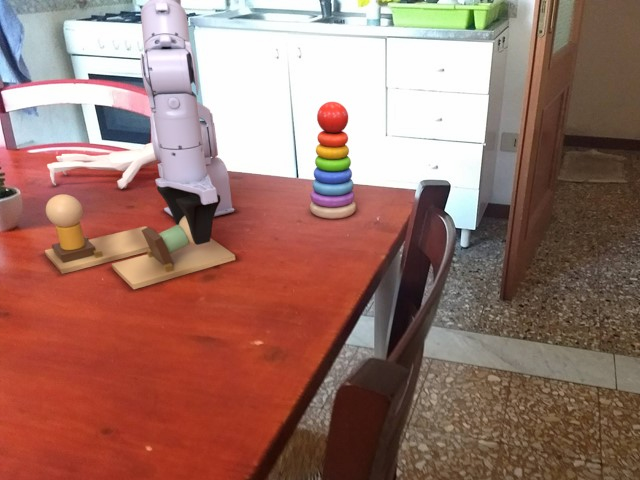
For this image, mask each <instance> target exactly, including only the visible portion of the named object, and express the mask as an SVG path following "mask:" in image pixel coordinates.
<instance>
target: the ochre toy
mask: <svg viewBox="0 0 640 480" xmlns="http://www.w3.org/2000/svg"><path fill="white" fill-rule="evenodd" d="M45 205H46V206H45V214H46V217H47V218H48V220H49V221H50V222H51V223H52V224H53V225H55V230H56V234H57V238H58V242H56V243H53V244H51V249H52V248H53V251H54V253H55V254H56V255H57V256H58V257H59V258H60V259H61V261H62V262H67V261H71V260H75V259H79V258H83V257H87V256H91V255H94V253H93V251H95V250H96V249H95V246H94V245H93V244H92V243H90V242H89V241H88V240H87V239H86V238H85V236H84V232H83V229H82V224H81V220H82V218H83V214H84V210H83V205H82V204H81V202H80V201H79V200H78V199H77V198H76V197H74V196H72V195H69V194H64V193H63V194H57V195H54V196H52V197H51V198H50V199H49V200H48V201H47V203H46V204H45Z"/></svg>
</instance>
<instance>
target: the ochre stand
mask: <svg viewBox="0 0 640 480" xmlns="http://www.w3.org/2000/svg"><path fill="white" fill-rule="evenodd" d="M147 227H148V226H140V227H137V228H132V229H129V230H123V231H119V232H116V233H111V234H107V235H103V236H98V237H93V238H90V239H89V237H88V236H87V235H85V236H84V237H85V238H86V239H87V240H88V241H89V242H90V243H92V244H93V245H94V246H95V249H96V250H95V251H93V253H94V255H91V256H87V257H83V258H79V259H75V260H71V261H67V262H62V261H61V259H60V258H59V257H58V256H57V255H56V254H55V253H54V251H53V248H52V247H51V248H47V249H45V250H44V253H45V256H46V257H47V259H49V260H50V261H51V263H52V264H53V265H54V266H55V267H56V269H57V270H58V271H59V272H60V273H61V274H62V275H64V274H68V273H72V272H76V271H80V270H84V269H87V268H91V267H96V266H99V265H103V264H106V263H111V262H114V261H117V260H122V259H125V258H129V257H133V256H137V255H141V254H145V253H147V250H150V248H149V246H148V244H147V241H146V239H145V237H144V235H143V233H142V230H143V229H145V228H147Z"/></svg>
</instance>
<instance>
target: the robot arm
mask: <svg viewBox="0 0 640 480" xmlns="http://www.w3.org/2000/svg"><path fill="white" fill-rule="evenodd" d="M140 21H141V31H142V41H143V53H144V54H143V53H140V69H141V70H140V71H141V77H142V81H143V87H144V89H145V92H146V95H147V98H148V102H149V108H150V112H151V114H150V116H149V120H150V136H151V141H152V142H151V143H152V144H153V150H154V154H155V158H156V159H157V160H159V162H160V163H158V164H157V170H158V175H159V178H156V179H155V180H154V181H155V185H156V186H157V187H156V191H157V192H158V193H159V194H160V196H161V197H162V198H163V200H164V202H165V204H166V205H167V207H164V208H163V211H164V212H165V213H167V214H168V215H169V216H171V217H172V218H173V220H174V222H175V226H176V225H179V222H180V220H181V219H182V218H183V217H184V216H185V217H186V219H187V222H188V225H189V228H190V232H191V235H192V238H193V241H194V243H195V244H196V245H199V244H203V243H207V242H210V239H212V233H213V224H214V218H215V217H218V216H219V217H220V216H224V215H226V214H231V213H235V208H234V207H233V201H232V193H231V186H230V176H229V171H228V168H227V166H226V164H225V162H224V161H223V160H222V159H221V158H220V157H218V156H219V151H218V150H219V149H218V142H217V135H216V134H217V133H216V128H215V127H216V126H215V123H214V118H213V117H214V116H213V113H212V112H211V109H210V108H208V107H207V106H205V105H203V104H202V103H200V102H199V101H198V97H197V96H198V95H199V89H200V88H199V87H200V86H199V77H198V70H197V63H196V61H197V60H196V57H195V54H194V51H193V48H192V47H193V46H192V43H191V39H190V33H189V24H188V16H187V13H186V10H185V9H184V7H183V6H182V0H148V1H147V2H145V3H144V4H143V6H142V7H141V10H140ZM192 84H194V86H195V92H196V93H195V92H194V91H193V89H192Z"/></svg>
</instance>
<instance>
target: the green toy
mask: <svg viewBox="0 0 640 480" xmlns="http://www.w3.org/2000/svg"><path fill="white" fill-rule="evenodd" d="M146 227H147V228H145V229H143V230H142V233H143V235H144V237H145V239H146V241H147V244H148V246H149V248H150V250H151V252H152V254H153V256H154V257H155V258H156V259H157V260H158V261H159V262H160V263H162V264H163V265H165V264H169V263H171V264H172V265H173V264H174V262H173V260H172V258H171V256H170V254H171V253H173V252H175V251H177V250H179V249H181V248H183V247H185V246H187V245H189V243H190V244H194V245H196V244H195V243H194V241H193V238H192V235H191V232H190V228H189V225H188V222H187V219H186V217H185V216H184V217H183V218H182V219H181V220H180V222H179V225H176V224H175V225H173V226H171V227H169V228H168V229H165V230H163V231H161V232H159V233H158V232H157V231H155V230H154V229H153V228H151V227H150V226H146Z"/></svg>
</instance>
